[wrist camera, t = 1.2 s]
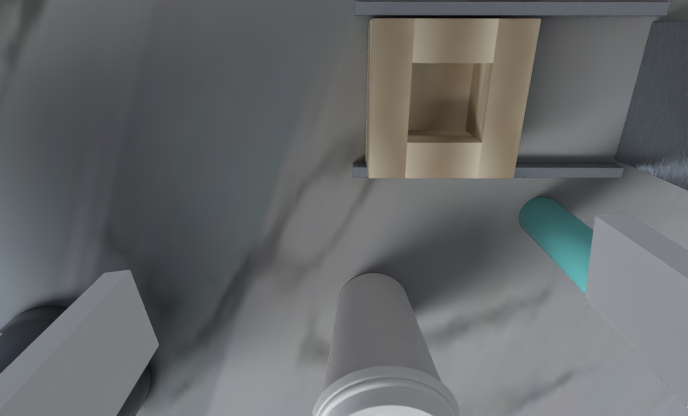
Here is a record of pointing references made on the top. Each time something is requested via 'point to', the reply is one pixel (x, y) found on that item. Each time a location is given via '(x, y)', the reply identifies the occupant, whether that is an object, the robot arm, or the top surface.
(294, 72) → the top surface
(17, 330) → the robot arm
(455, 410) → the coffee cup
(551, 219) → the dowel
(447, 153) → the block
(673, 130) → the backstop
